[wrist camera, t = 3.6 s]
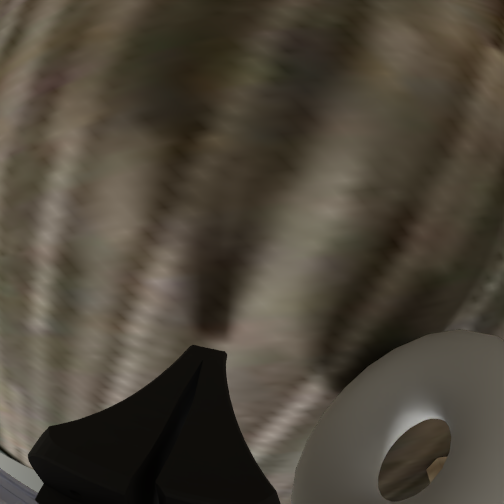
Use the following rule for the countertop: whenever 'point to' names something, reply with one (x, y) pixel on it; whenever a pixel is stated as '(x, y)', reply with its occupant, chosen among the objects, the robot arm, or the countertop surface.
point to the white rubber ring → (413, 423)
